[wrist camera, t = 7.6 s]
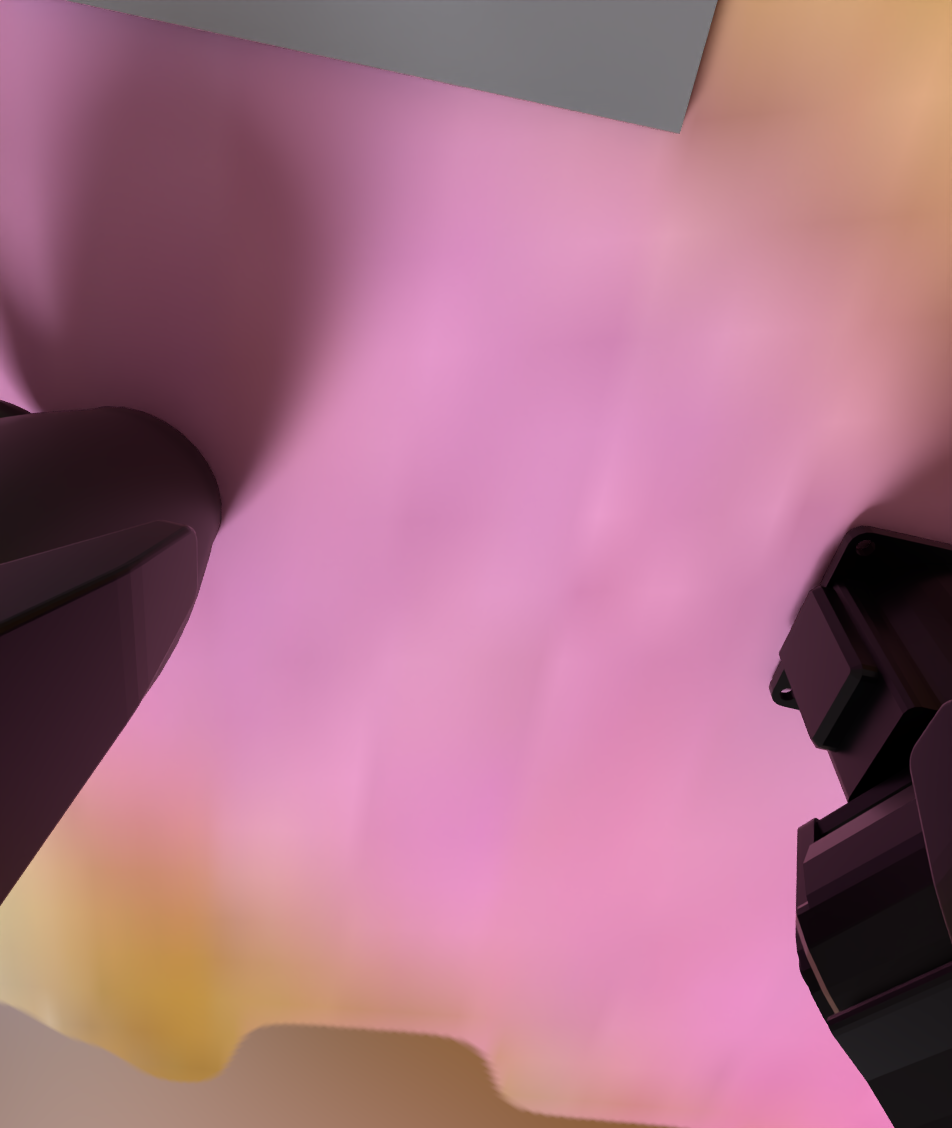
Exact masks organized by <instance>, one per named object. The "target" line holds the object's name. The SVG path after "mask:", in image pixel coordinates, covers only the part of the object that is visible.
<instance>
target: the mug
mask: <svg viewBox="0 0 952 1128" xmlns="http://www.w3.org/2000/svg"><path fill="white" fill-rule="evenodd" d="M155 520H166V521H170V522H174V523H179V524H183V525H187V526H190V527H192V528H193V529H194V531H195V533H196V536H197V562H198V588H197V594H196V598H195V601H196V599H197V596H198V593H199V590H200V586H201V583H202V580H203V576H204V573H205V570H206V566H207V563H208V560H209V556H210V552H211V548H212V544H213V541H214V539H215V537H216V535H217V531H218V528H219V525H220V521H221V500H220V495H219V491H218V486H217V483H216V480H215V478H214V476H213V474H212V471H211V469H210V467H209V466H208V464H207V462H206V461H205V459H204V458H203V457H202V455H201V454H200V452H199V451H198V450H197V449H196V447H195V446H194V445H193V444H192V443H191V442H190V441H189V440H188V439H187V438H186V437H185V436H184V435H182V434H181V433H180V432H179V431H177V430H176V429H174V428H173V427H172V426H170V425H169V424H167V423H166V422H164V421H162V420H160V419H158V418H156V417H154V416H152V415H149V414H147V413H145V412H142V411H137V410H133V409H129V408H125V407H99V408H95V409H87V410H71V411H53V412H42V413H30V412H28V411H26V410H25V409H22V408H20V407H18V406H16V405H13V404H11V403H8V402H5V401H2V400H0V564H3V563H6V562H10V561H13V560H17V559H20V558H24V557H28V556H31V555H35V554H38V553H42V552H45V551H49V550H52V549H56V548H59V547H63V546H67V545H70V544H74V543H77V542H81V541H84V540H88V539H91V538H95V537H99V536H102V535H106V534H109V533H113V532H116V531H120V530H123V529H127V528H131V527H134V526H138V525H141V524H145V523H148V522H152V521H155ZM195 601H194V603H193V606H192V608H191V609H190V611H189V613H188V615H187V617H186V619H185V621H184V623H183V625H182V626H181V628H180V630H179V632H178V634H177V636H176V638H175V640H174V642H173V643H172V645H171V647H170V649H169V651H168V653H167V655H166V657H165V659H164V660H163V662H162V664H161V666H160V668H159V670H158V672H157V674H156V676H155V677H154V679H153V681H152V683H151V685H150V687H149V689H150V688H151V686H152V685H153V683H154V682H155V681H156V679H157V678H158V676H159V675H160V673H161V672H162V670H163V668H164V666H165V665H166V663H167V661H168V659H169V658H170V656H171V654H172V652H173V651H174V649H175V647H176V645H177V643H178V641H179V639H180V637H181V635H182V633H183V630H184V628H185V626H186V624H187V622H188V620H189V617H190V615H191V612H192V609H193V607H194V604H195ZM149 689H148V690H147V692H148V691H149ZM147 692H146V694H147ZM146 694H145V695H146ZM143 698H144V697H143Z"/></svg>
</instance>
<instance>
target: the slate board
mask: <svg viewBox="0 0 952 1128" xmlns="http://www.w3.org/2000/svg"><path fill="white" fill-rule="evenodd" d="M64 1H68V2H73V3H77V4H82V5H87V6H91V7H96V8H100V9H105V10H110V11H114V12H119V13H123V14H128V15H133V16H137V17H142V18H147V19H151V20H156V21H160V22H165V23H170V24H174V25H179V26H183V27H188V28H193V29H197V30H202V31H206V32H211V33H216V34H220V35H225V36H229V37H234V38H239V39H243V40H248V41H252V42H257V43H262V44H266V45H271V46H275V47H280V48H285V49H289V50H294V51H298V52H303V53H308V54H312V55H317V56H321V57H326V58H331V59H335V60H340V61H344V62H349V63H354V64H358V65H363V66H367V67H372V68H377V69H381V70H386V71H390V72H395V73H400V74H404V75H409V76H413V77H418V78H423V79H427V80H432V81H436V82H441V83H446V84H450V85H455V86H459V87H464V88H469V89H473V90H478V91H482V92H487V93H492V94H496V95H501V96H505V97H510V98H515V99H519V100H524V101H528V102H533V103H538V104H542V105H547V106H551V107H556V108H561V109H565V110H570V111H574V112H579V113H584V114H588V115H593V116H597V117H602V118H607V119H611V120H616V121H620V122H625V123H630V124H634V125H639V126H643V127H648V128H653V129H657V130H662V131H666V132H671V133H676V134H680V131H681V127H682V124H683V120H684V117H685V113H686V110H687V106H688V103H689V99H690V96H691V92H692V89H693V85H694V82H695V78H696V75H697V71H698V68H699V64H700V61H701V57H702V54H703V50H704V47H705V43H706V39H707V36H708V32H709V29H710V25H711V22H712V18H713V15H714V11H715V8H716V4H717V1H718V0H64Z"/></svg>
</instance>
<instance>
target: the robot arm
mask: <svg viewBox="0 0 952 1128" xmlns="http://www.w3.org/2000/svg"><path fill="white" fill-rule="evenodd" d="M864 540H870V544H869V545H868V546H867V547H865V548H863V549H856V546H857V545H858V544H859V543H860V542H862V541H864ZM197 588H198V562H197V536H196V533H195V531H194V529H193V528H192V527H190V526H187V525H183V524H179V523H174V522H170V521H166V520H155V521H152V522H148V523H145V524H141V525H138V526H134V527H131V528H127V529H123V530H120V531H116V532H113V533H109V534H106V535H102V536H99V537H95V538H91V539H88V540H84V541H81V542H77V543H74V544H70V545H67V546H63V547H59V548H56V549H52V550H49V551H45V552H42V553H38V554H35V555H31V556H28V557H24V558H20V559H17V560H13V561H10V562H6V563H3V564H0V906H1V904H2V903H3V901H4V900H5V898H6V897H7V895H8V894H9V893H10V891H11V890H12V888H13V887H14V885H15V884H16V883H17V881H18V880H19V878H20V877H21V875H22V874H23V872H24V871H25V870H26V868H27V867H28V865H29V864H30V862H31V861H32V860H33V858H34V857H35V855H36V854H37V852H38V851H39V849H40V848H41V847H42V845H43V844H44V842H45V841H46V839H47V838H48V837H49V835H50V834H51V832H52V831H53V829H54V828H55V826H56V825H57V824H58V822H59V821H60V819H61V818H62V816H63V815H64V813H65V812H66V811H67V809H68V808H69V806H70V805H71V803H72V802H73V801H74V799H75V798H76V796H77V795H78V793H79V792H80V790H81V789H82V788H83V786H84V785H85V783H86V782H87V780H88V779H89V778H90V776H91V775H92V773H93V772H94V770H95V769H96V767H97V766H98V765H99V763H100V762H101V760H102V759H103V757H104V756H105V755H106V753H107V752H108V750H109V749H110V747H111V746H112V744H113V743H114V742H115V740H116V739H117V737H118V736H119V734H120V733H121V731H122V730H123V729H124V727H125V726H126V724H127V723H128V721H129V720H130V718H131V717H132V715H133V714H134V712H135V711H136V709H137V708H138V706H139V705H140V703H141V701H142V699H143V697H144V696H145V694H146V692H147V690H148V689H149V687H150V685H151V683H152V681H153V679H154V677H155V676H156V674H157V672H158V670H159V668H160V666H161V664H162V662H163V660H164V659H165V657H166V655H167V653H168V651H169V649H170V647H171V645H172V643H173V642H174V640H175V638H176V636H177V634H178V632H179V630H180V628H181V626H182V625H183V623H184V621H185V619H186V617H187V615H188V613H189V611H190V609H191V608H192V606H193V603H194V601H195V598H196V594H197ZM779 656H780V659H781V662H780V664H779V666H778V668H777V670H776V672H775V674H774V676H773V678H772V680H771V682H770V685H769V690H770V693H771V696H772V699H773V701H774V702H775V703H776V704H778V705H781V706H784V707H788V708H793V709H797V710H800V712H801V715H802V718H803V720H804V723H805V726H806V728H807V731H808V734H809V736H810V739H811V740H812V742H813V744H814V745H815V747H816V748H818V749H823V750H827V751H828V753H829V756H830V759H831V761H832V764H833V766H834V769H835V771H836V774H837V776H838V779H839V781H840V784H841V787H842V789H843V792H844V794H845V797H846V799H847V802H848V803H847V804H845V805H844V806H842V807H840V808H839V809H837V810H835V811H834V812H832V813H830V814H829V815H827V816H825V817H824V818H822V819H821V820H819V819H817V818H814V819H812V820H810V821H809V822H807V823H806V824H804V825H802V826H801V827H799V828H798V834H797V886H796V945H797V953H798V957H799V968H800V972H801V975H802V977H803V979H804V981H805V982H806V984H807V985H808V987H809V990H810V992H811V995H812V996H813V998H814V1000H815V1002H816V1004H817V1006H818V1008H819V1010H820V1012H821V1014H822V1016H823V1018H824V1020H825V1021H826V1023H827V1024H828V1027H829V1029H830V1031H831V1033H832V1034H833V1036H834V1037H835V1039H836V1040H837V1041H838V1043H839V1044H840V1045H841V1047H842V1048H843V1049H844V1051H845V1052H846V1054H847V1055H848V1056H849V1058H850V1059H851V1060H852V1062H853V1063H854V1064H855V1066H856V1067H857V1069H858V1070H859V1071H860V1073H861V1074H862V1075H863V1077H864V1078H865V1080H866V1081H867V1082H868V1084H869V1086H870V1087H871V1089H872V1091H873V1092H874V1094H875V1096H876V1097H877V1099H878V1101H879V1103H880V1104H881V1106H882V1108H883V1109H884V1111H885V1113H886V1114H887V1116H888V1118H889V1119H890V1121H891V1123H892V1124H893V1126H894V1128H952V545H950V544H946V543H941V542H937V541H933V540H928V539H924V538H919V537H915V536H910V535H906V534H901V533H897V532H892V531H888V530H883V529H879V528H874V527H870V526H860V527H856V528H853V529H852V530H850V531H849V532H848V533H847V534H846V535H845V537H844V538H843V540H842V542H841V544H840V546H839V548H838V550H837V552H836V554H835V556H834V558H833V560H832V562H831V564H830V566H829V568H828V570H827V572H826V574H825V576H824V578H823V580H822V582H821V584H820V585H819V586H817V587H815V588H814V589H813V590H811V591H810V592H809V594H808V596H807V598H806V600H805V602H804V604H803V606H802V608H801V610H800V612H799V614H798V616H797V618H796V620H795V622H794V624H793V626H792V628H791V630H790V632H789V634H788V636H787V638H786V640H785V642H784V644H783V646H782V648H781V650H780V652H779ZM786 688H792V690H791V691H789V692H787V693H783V692H781V691H782V690H784V689H786Z"/></svg>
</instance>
